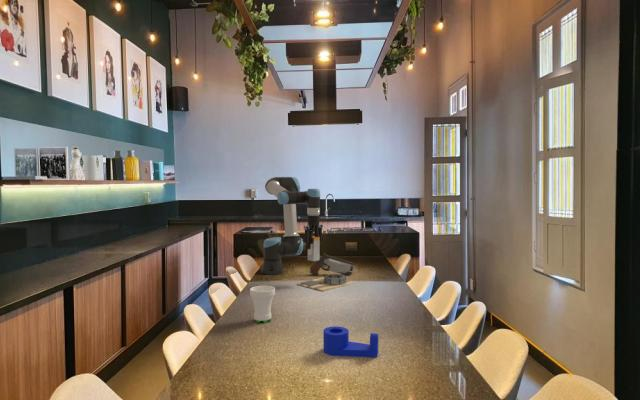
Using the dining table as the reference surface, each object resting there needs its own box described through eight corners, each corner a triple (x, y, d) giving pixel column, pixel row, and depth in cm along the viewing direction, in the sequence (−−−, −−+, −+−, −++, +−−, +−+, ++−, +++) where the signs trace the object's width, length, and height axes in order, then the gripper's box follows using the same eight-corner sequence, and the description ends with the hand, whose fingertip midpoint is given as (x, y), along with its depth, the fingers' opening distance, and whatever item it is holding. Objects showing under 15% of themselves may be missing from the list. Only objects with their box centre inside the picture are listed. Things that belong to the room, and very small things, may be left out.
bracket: (320, 355, 152) (320, 334, 151) (326, 345, 160) (326, 325, 160) (376, 360, 147) (376, 338, 147) (379, 350, 156) (379, 329, 156)
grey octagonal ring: (319, 282, 256) (319, 276, 256) (334, 278, 266) (334, 273, 265) (335, 286, 247) (335, 280, 247) (350, 282, 256) (350, 276, 256)
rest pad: (300, 283, 254) (300, 282, 254) (311, 280, 260) (311, 280, 260) (310, 286, 247) (310, 285, 247) (321, 283, 254) (321, 282, 254)
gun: (349, 285, 278) (355, 263, 277) (308, 273, 278) (314, 251, 277) (348, 283, 283) (355, 261, 282) (308, 271, 283) (315, 250, 282)
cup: (254, 326, 181) (254, 293, 181) (246, 318, 191) (246, 287, 190) (279, 322, 186) (279, 289, 186) (270, 315, 196) (270, 284, 196)
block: (313, 261, 250) (313, 237, 249) (307, 260, 254) (307, 236, 253) (319, 260, 254) (319, 236, 253) (313, 259, 257) (313, 235, 256)
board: (296, 284, 254) (296, 283, 254) (327, 277, 272) (327, 276, 272) (323, 291, 238) (323, 290, 238) (353, 283, 256) (353, 282, 256)
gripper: (307, 216, 243) (307, 256, 244) (328, 214, 256) (328, 252, 257) (298, 215, 248) (298, 255, 250) (319, 213, 261) (319, 251, 263)
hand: (313, 253), depth 254 cm, fingers closed on block, 5 cm apart
